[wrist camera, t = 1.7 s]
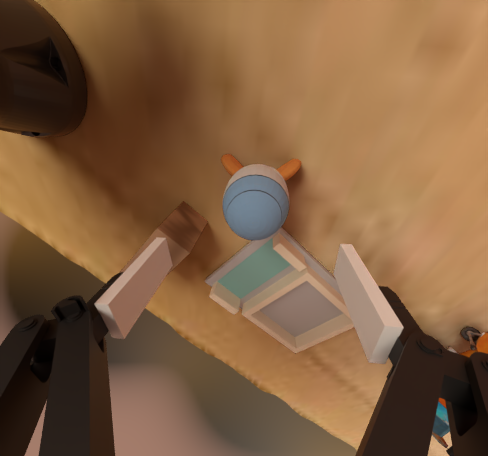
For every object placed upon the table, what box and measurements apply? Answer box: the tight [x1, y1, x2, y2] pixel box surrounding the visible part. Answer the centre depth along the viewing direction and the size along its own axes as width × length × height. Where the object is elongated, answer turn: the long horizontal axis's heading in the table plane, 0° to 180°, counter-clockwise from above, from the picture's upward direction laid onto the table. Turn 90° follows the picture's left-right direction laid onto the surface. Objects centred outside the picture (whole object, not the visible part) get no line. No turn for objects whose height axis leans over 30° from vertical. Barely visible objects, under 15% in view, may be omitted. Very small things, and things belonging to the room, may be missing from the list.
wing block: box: [120, 201, 208, 277], centre depth 32 cm, size 5×12×9 cm, turn 137°
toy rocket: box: [221, 154, 301, 240], centre depth 25 cm, size 10×11×15 cm
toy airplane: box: [432, 327, 488, 456], centre depth 36 cm, size 29×23×15 cm
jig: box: [205, 227, 354, 354], centre depth 38 cm, size 24×18×4 cm
